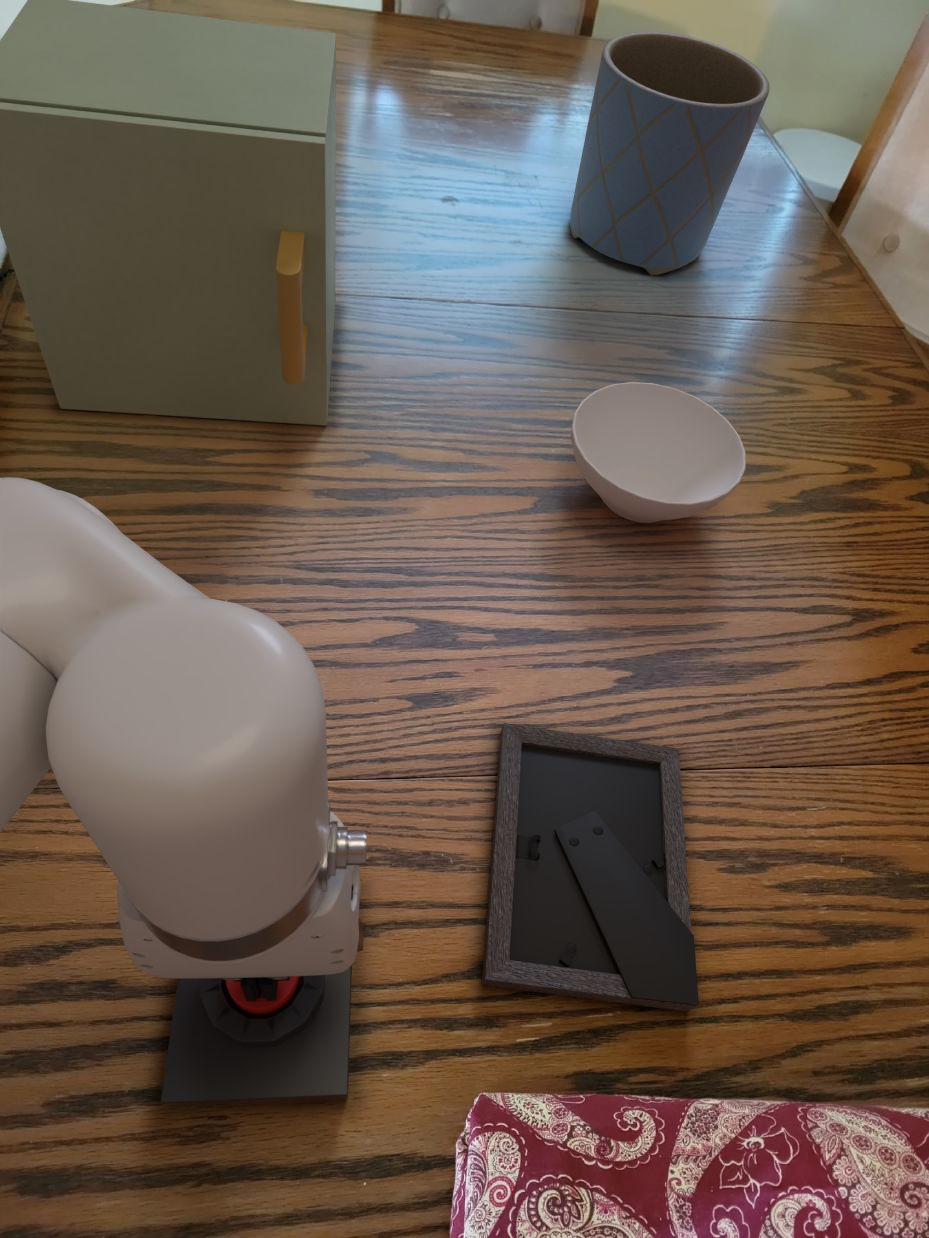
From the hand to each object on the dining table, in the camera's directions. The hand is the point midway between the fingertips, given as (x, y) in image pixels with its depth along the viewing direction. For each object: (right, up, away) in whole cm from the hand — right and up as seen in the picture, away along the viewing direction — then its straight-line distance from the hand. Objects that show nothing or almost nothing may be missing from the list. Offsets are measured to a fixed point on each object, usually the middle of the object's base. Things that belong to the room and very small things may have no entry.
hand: (264, 971), depth 47 cm
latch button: (0, -1, +1) cm, 2 cm away
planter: (+33, +69, +62) cm, 99 cm away
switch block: (-1, -3, +4) cm, 5 cm away
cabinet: (-15, +47, +38) cm, 62 cm away
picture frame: (+20, +3, +12) cm, 23 cm away
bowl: (+28, +32, +34) cm, 54 cm away
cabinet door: (-14, +37, +31) cm, 50 cm away
